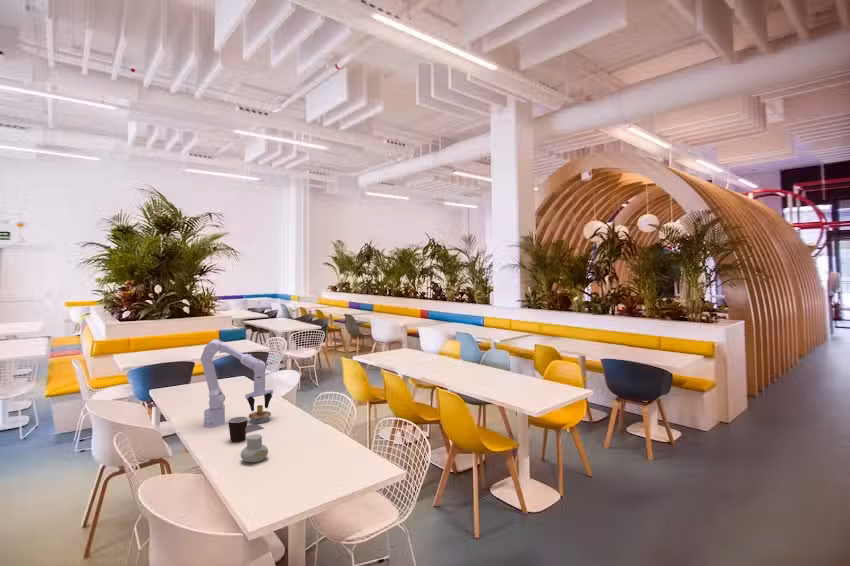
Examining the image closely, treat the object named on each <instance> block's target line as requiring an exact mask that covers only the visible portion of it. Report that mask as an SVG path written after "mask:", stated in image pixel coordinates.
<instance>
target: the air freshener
mask: <svg viewBox="0 0 850 566" xmlns="http://www.w3.org/2000/svg"><path fill="white" fill-rule="evenodd" d="M246 437H247V438H246V446H245V447H244V448H243V449H242V450H241V451H240V458H241V460H243V461H244V462H246V463H251V464H252V463H254V464H255V463H259V462H261V461H262V460H264V459H265V458H266V457H267V456H268V453H269V449H268V447H267V446H266V445H265V444H263V436H262V435H261V434H255V433H254V434H251V435H249V436H246Z"/></svg>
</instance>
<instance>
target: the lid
mask: <svg viewBox="0 0 850 566" xmlns="http://www.w3.org/2000/svg"><path fill="white" fill-rule="evenodd" d="M263 408H264V406H263V405H261V404H260V405H259V404H258V405H257V406H256V411H252V412H251V413H249V414H248V419H250V418H251V419H263V418H267V417H270V416H272V414H271V412H270V411H267V410H263Z"/></svg>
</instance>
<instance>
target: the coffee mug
mask: <svg viewBox="0 0 850 566" xmlns="http://www.w3.org/2000/svg"><path fill="white" fill-rule="evenodd" d="M248 421H249V417H247V416H236V417H235V416H234V417H231V418H230V419H228V421H227V423H228V429H229V430H228V431H229V436H230V442H231V443H242V442H244V441H245V440H247V438H246V437H247V433H246V431H247V426H248Z"/></svg>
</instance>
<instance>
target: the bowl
mask: <svg viewBox="0 0 850 566" xmlns="http://www.w3.org/2000/svg"><path fill="white" fill-rule="evenodd" d="M269 417H270V416H269ZM269 417H267V418H263V419H251V418H249V421H250V423H252V424H263V423H267V422H268V421H269V419H270V418H269Z"/></svg>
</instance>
